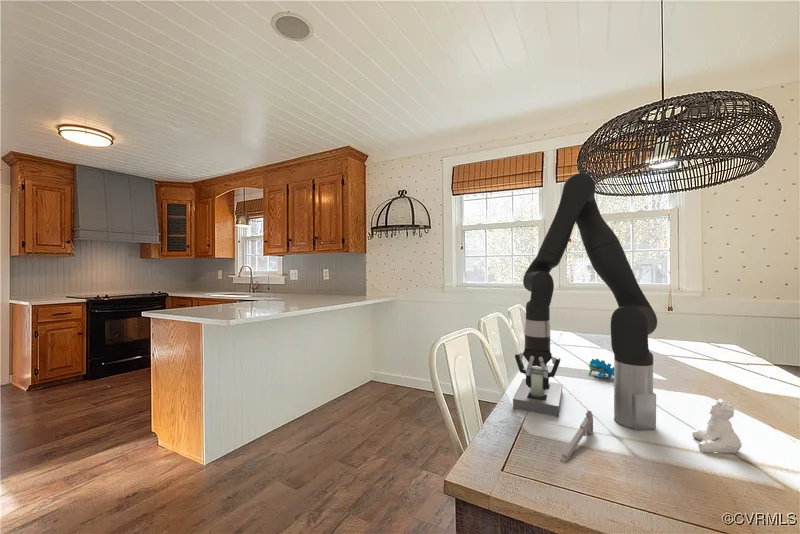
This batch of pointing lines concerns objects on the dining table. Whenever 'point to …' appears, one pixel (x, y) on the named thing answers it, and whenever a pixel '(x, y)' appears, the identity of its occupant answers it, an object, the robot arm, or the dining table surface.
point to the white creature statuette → (719, 431)
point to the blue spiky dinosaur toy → (600, 368)
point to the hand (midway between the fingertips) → (537, 387)
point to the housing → (539, 399)
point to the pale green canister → (537, 381)
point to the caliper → (579, 435)
